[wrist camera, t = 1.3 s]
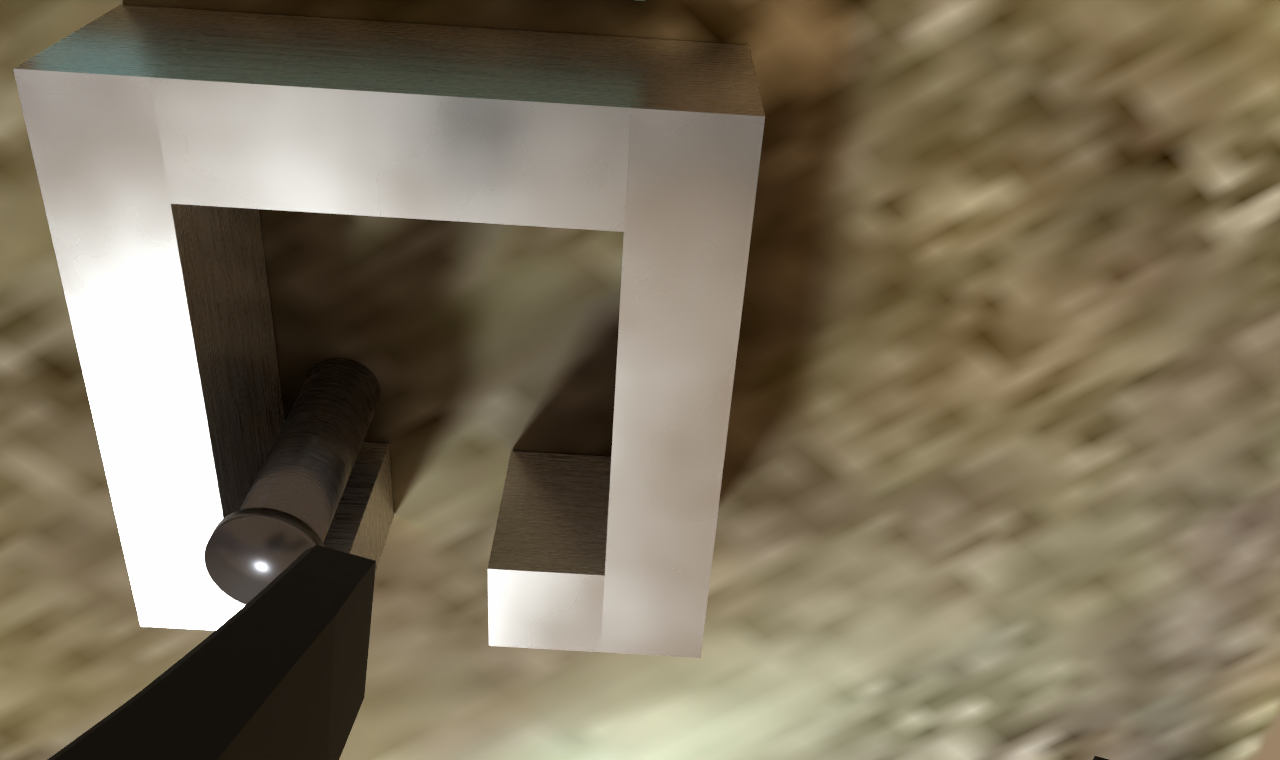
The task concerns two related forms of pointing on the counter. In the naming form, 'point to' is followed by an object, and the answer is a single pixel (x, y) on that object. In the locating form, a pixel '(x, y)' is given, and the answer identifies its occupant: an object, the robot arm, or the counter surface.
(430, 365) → the counter surface
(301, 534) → the pin
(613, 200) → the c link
